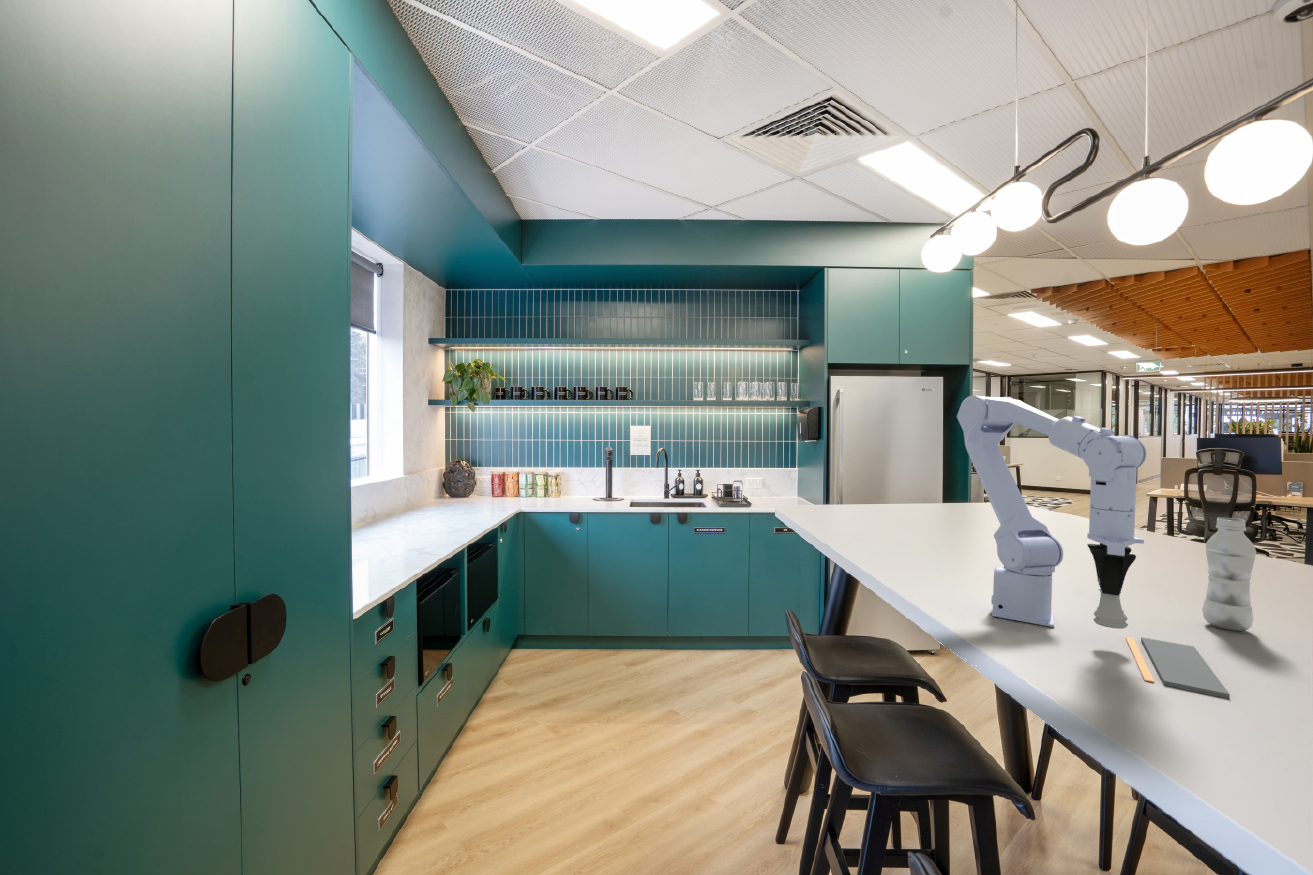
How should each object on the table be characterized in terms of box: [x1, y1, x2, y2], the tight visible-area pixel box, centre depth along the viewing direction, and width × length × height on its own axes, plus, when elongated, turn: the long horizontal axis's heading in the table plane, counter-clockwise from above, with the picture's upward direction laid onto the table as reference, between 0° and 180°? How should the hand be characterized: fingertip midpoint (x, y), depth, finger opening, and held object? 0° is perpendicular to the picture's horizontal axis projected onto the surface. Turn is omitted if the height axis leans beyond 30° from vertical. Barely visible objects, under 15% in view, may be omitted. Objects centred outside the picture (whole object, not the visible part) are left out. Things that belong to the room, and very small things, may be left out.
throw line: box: [1125, 636, 1155, 683], centre depth 86 cm, size 1×20×1 cm, turn 146°
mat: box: [1140, 636, 1231, 699], centre depth 83 cm, size 6×20×1 cm, turn 145°
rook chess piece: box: [1093, 578, 1129, 630], centre depth 90 cm, size 4×4×8 cm
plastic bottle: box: [1202, 517, 1257, 632], centre depth 100 cm, size 6×7×20 cm
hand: (1109, 591), depth 90 cm, fingers closed on rook chess piece, 3 cm apart
